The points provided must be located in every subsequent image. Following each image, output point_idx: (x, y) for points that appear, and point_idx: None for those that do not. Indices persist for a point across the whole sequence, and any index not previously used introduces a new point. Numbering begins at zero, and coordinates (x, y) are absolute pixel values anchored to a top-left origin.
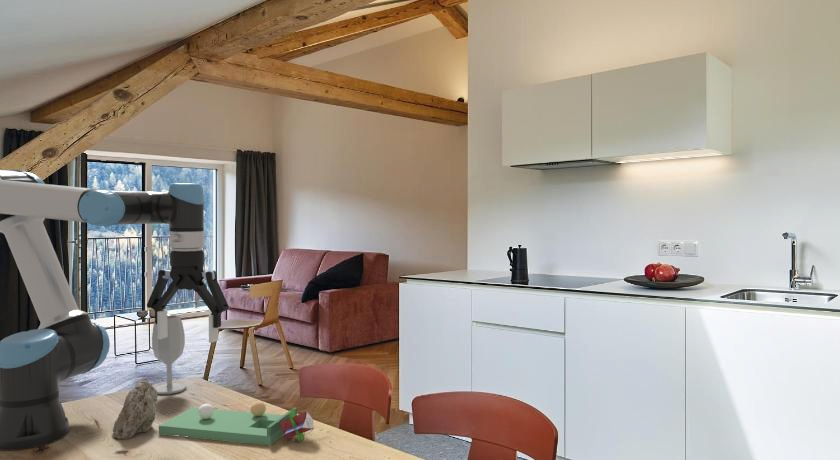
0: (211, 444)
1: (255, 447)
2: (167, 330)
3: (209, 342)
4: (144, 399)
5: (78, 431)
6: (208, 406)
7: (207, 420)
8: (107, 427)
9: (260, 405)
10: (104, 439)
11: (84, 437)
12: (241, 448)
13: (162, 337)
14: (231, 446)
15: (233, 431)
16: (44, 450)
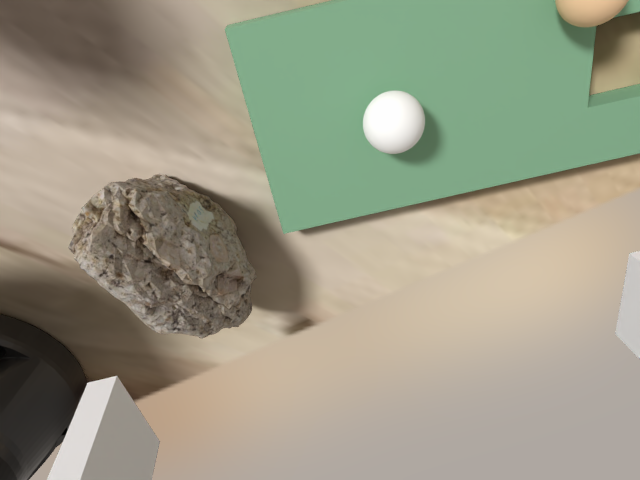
0: (489, 201)
1: (628, 161)
2: (99, 432)
3: (621, 333)
4: (211, 286)
5: (42, 306)
6: (417, 134)
7: None
8: None
9: (626, 3)
10: None
11: (112, 321)
12: (590, 184)
13: (145, 431)
14: (554, 187)
15: (554, 162)
16: None
